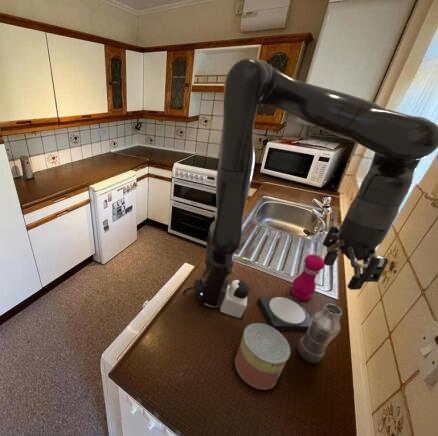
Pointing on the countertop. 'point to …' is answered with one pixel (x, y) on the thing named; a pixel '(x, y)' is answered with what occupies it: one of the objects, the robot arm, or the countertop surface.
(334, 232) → the robot arm
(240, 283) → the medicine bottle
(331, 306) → the plastic bottle
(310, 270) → the pepper mill
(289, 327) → the scale
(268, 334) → the canned food
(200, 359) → the countertop surface
